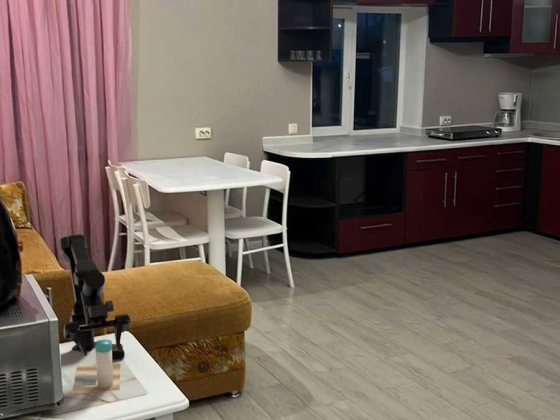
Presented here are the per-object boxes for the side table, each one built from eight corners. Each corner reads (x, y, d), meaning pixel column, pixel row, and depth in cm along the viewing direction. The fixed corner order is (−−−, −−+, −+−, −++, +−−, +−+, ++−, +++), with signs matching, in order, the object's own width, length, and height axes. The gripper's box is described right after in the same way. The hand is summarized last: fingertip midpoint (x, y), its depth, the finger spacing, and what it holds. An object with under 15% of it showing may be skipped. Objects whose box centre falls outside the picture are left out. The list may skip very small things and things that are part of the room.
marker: (101, 380, 199) (99, 338, 196) (116, 381, 198) (114, 339, 195) (94, 387, 194) (92, 345, 191) (109, 389, 193) (107, 346, 191)
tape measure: (125, 361, 213) (124, 350, 212) (102, 363, 211) (102, 352, 210) (123, 352, 220) (122, 341, 219) (101, 355, 218) (100, 344, 217)
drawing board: (77, 367, 208) (77, 365, 208) (120, 364, 210) (120, 362, 210) (71, 395, 191) (71, 393, 190) (119, 391, 193) (119, 389, 193)
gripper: (62, 296, 193) (71, 347, 186) (127, 287, 201) (138, 335, 194) (59, 314, 202) (68, 363, 194) (122, 304, 210) (133, 351, 202)
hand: (102, 352), depth 196 cm, fingers open, 9 cm apart
